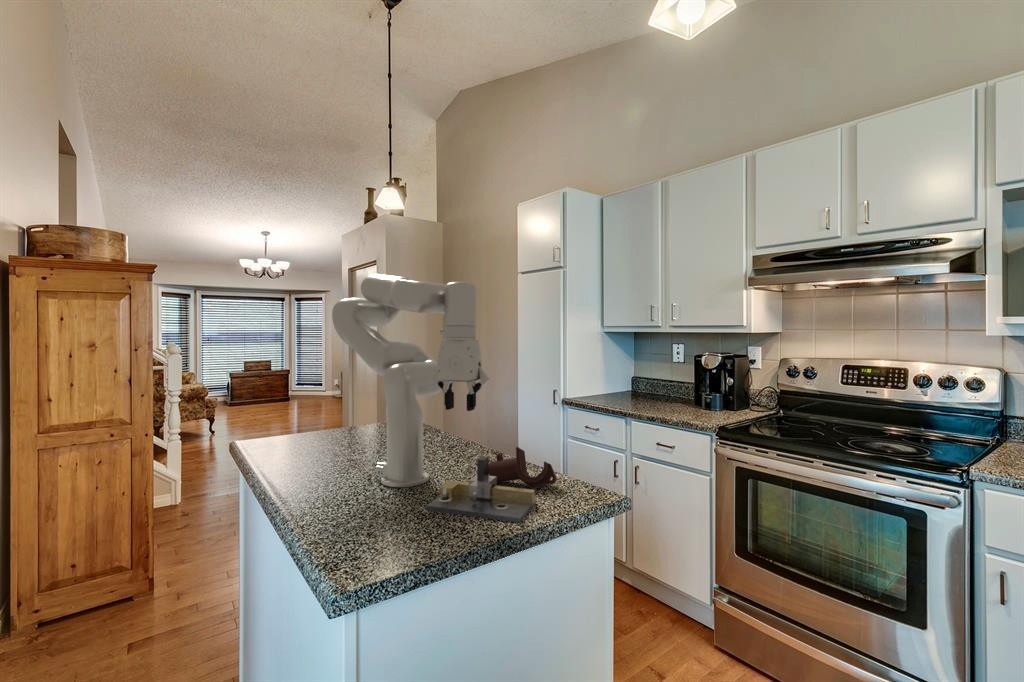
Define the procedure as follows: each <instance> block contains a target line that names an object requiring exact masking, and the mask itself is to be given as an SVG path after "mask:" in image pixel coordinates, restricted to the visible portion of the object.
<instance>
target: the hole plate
mask: <svg viewBox="0 0 1024 682" xmlns="http://www.w3.org/2000/svg"><path fill="white" fill-rule="evenodd" d="M536 504H537V499H536V498H535V501H534V503H533V504H530V503H522V502H514V501H506V500H498V499H490V498H489V499H488V498H480V497H477V501H476V502H473V497H472V496H466V495H457V496H456V497H454V498H453V499H449V498H447V499H443V498H440V496H438V497H437V498H435V499H434V500H432V501H431V502H429V503H428V504H426V507H425V508H426V511H431V512H439V513H446V514H452V515H460V516H466V517H475V518H483V519H487V520H488V519H489V520H495V521H503V522H508V523H509V522H510V523H519V524H520V523H521V522H523V520H524V519H525V518H526V516H527V515H528V514H529V513H530V512H531V510H532V509H533V508H534V507H535V506H536Z"/></svg>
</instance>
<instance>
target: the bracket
mask: <svg viewBox="0 0 1024 682" xmlns="http://www.w3.org/2000/svg"><path fill="white" fill-rule="evenodd" d="M515 451H516V452H515V457H513V458H509V459H507V458H506V459H504V456H503V452H497V453H496V457H495V458H496V460H495V461H494V460H493V461H489V476H497V484H498V483H504V482H510V481H517V480H520V481H521V482H522V483H524V484H525V485H526V486H527V487H530V488H531V487H532V488H533V487H540V486H541V487H542V486H549V485H554V484H556V482H557V479H558V478H557V476H556V473H555V471H554V469H553V466H552V464H550V462H547V461H543V469H542V471H541V472H540V473H538V475H536V476H530V475H529V473H528V471H527V463H526V461H527V460H526V455H525V454H526V453H525V450H523V449H522V448H520V447H519V446H516V447H515ZM551 478H552V479H551Z"/></svg>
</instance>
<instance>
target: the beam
mask: <svg viewBox="0 0 1024 682" xmlns="http://www.w3.org/2000/svg"><path fill="white" fill-rule="evenodd" d="M457 495H466V496H469V481H468V482H467V481H459V480H458V481H457V480H450V479H448V480H447V481H445V483H444V484H443V485H441V486H440V487H439V497H440V498H443V499H447V498H449V499H453V498H454V497H456V496H457ZM490 499H498V500H506V501H514V502H522V503H530V504H533V503H534V501H535V499H536V490H535V489H529V488H528V489H527V488H520V487H511V486H503V485H497V486H495V485H492V486H491V497H490Z"/></svg>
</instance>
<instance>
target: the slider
mask: <svg viewBox="0 0 1024 682" xmlns="http://www.w3.org/2000/svg"><path fill="white" fill-rule="evenodd" d="M489 463H490V457H489V456H486V455H485V456H484V455H482V456H481V457H478V459H477V464H476V469H477V470H476V472H477V473H476V475H474V476H473V477H472V478H470V479H469V480H468V482H469V496H472V497H473V502H476V501H477V497H480V498H488V499H489V498H490V497H491V486H492V485H495V486H498V483H497V476H489Z"/></svg>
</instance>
